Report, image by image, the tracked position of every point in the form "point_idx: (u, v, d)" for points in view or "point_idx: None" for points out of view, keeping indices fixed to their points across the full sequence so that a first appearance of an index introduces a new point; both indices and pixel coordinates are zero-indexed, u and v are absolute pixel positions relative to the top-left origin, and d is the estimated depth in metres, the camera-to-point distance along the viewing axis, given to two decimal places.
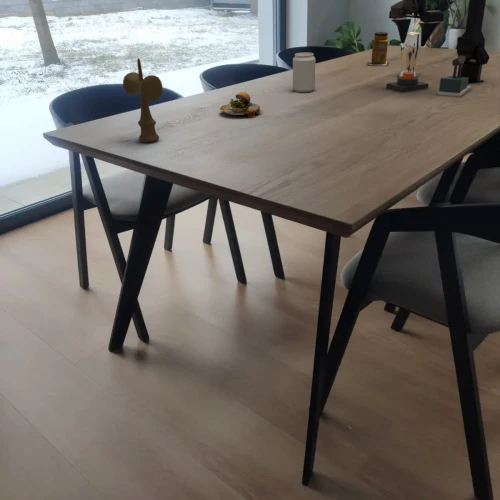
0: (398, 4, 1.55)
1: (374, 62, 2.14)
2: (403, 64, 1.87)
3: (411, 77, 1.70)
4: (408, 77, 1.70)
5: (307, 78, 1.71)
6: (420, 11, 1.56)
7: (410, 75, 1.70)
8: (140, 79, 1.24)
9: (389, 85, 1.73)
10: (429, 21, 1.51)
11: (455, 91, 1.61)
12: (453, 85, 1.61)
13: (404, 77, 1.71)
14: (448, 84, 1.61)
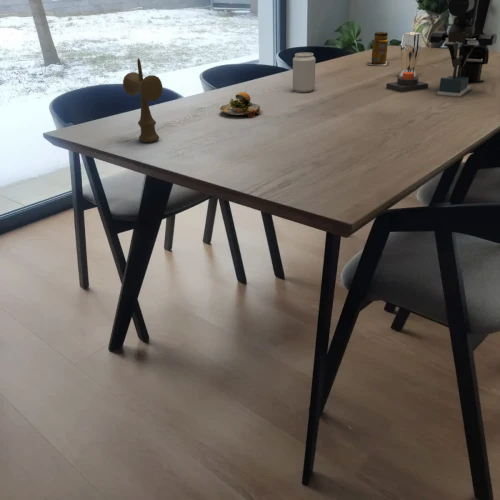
0: (456, 28, 1.53)
1: (374, 62, 2.14)
2: (403, 64, 1.87)
3: (411, 77, 1.70)
4: (408, 77, 1.70)
5: (307, 78, 1.71)
6: None
7: (410, 75, 1.70)
8: (140, 79, 1.24)
9: (389, 85, 1.73)
10: (491, 44, 1.53)
11: (455, 91, 1.61)
12: (453, 85, 1.61)
13: (404, 77, 1.71)
14: (448, 84, 1.61)
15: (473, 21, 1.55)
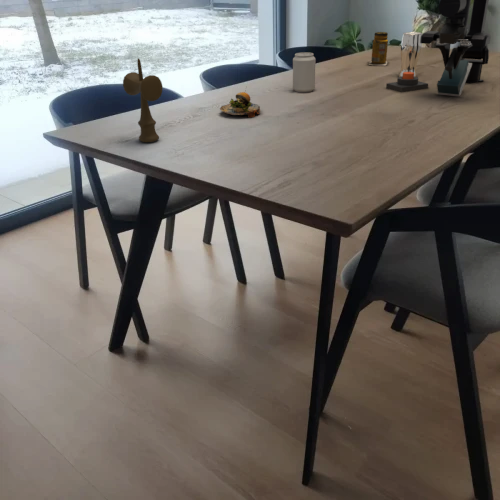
0: (447, 29, 1.47)
1: (374, 62, 2.14)
2: (403, 64, 1.87)
3: (411, 77, 1.70)
4: (408, 77, 1.70)
5: (307, 78, 1.71)
6: None
7: (410, 75, 1.70)
8: (140, 79, 1.24)
9: (389, 85, 1.73)
10: (484, 45, 1.46)
11: (454, 93, 1.60)
12: (451, 89, 1.59)
13: (404, 77, 1.71)
14: (445, 88, 1.60)
15: (465, 21, 1.48)
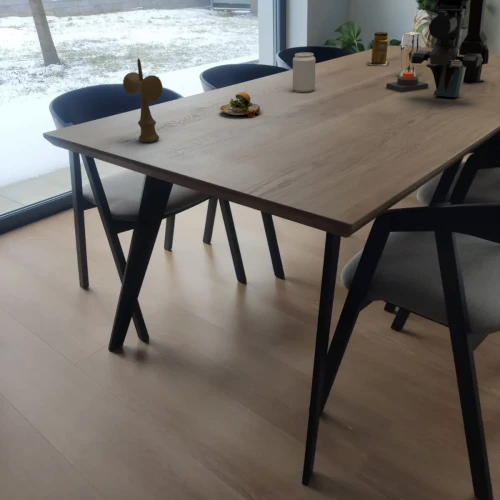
0: (438, 50, 1.44)
1: (374, 62, 2.14)
2: (403, 64, 1.87)
3: (411, 77, 1.70)
4: (408, 77, 1.70)
5: (307, 78, 1.71)
6: None
7: (410, 75, 1.70)
8: (140, 79, 1.24)
9: (389, 85, 1.73)
10: (475, 66, 1.44)
11: None
12: None
13: (404, 77, 1.71)
14: None
15: (456, 41, 1.46)
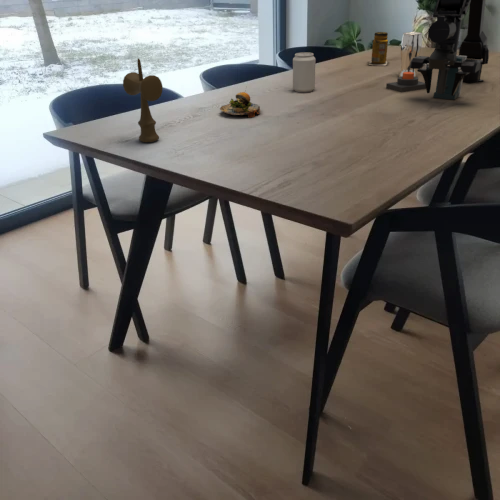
0: (437, 55, 1.45)
1: (374, 62, 2.14)
2: (403, 64, 1.87)
3: (411, 77, 1.70)
4: (408, 77, 1.70)
5: (307, 78, 1.71)
6: None
7: (410, 75, 1.70)
8: (140, 79, 1.24)
9: (389, 85, 1.73)
10: (474, 71, 1.45)
11: None
12: None
13: (404, 77, 1.71)
14: None
15: (455, 47, 1.46)
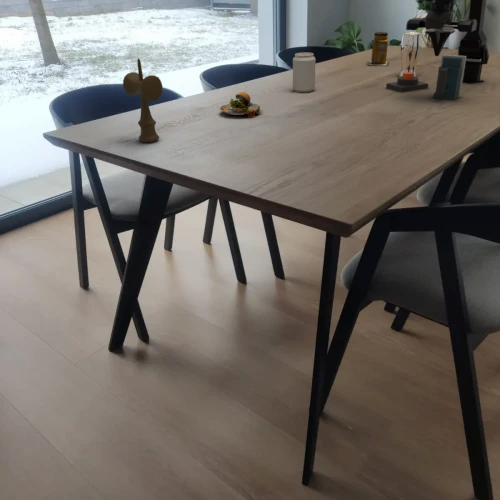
0: (433, 14, 1.44)
1: (374, 62, 2.14)
2: (403, 64, 1.87)
3: (411, 77, 1.70)
4: (408, 77, 1.70)
5: (307, 78, 1.71)
6: None
7: (410, 75, 1.70)
8: (140, 79, 1.24)
9: (389, 85, 1.73)
10: (471, 30, 1.44)
11: None
12: None
13: (404, 77, 1.71)
14: None
15: (451, 6, 1.46)
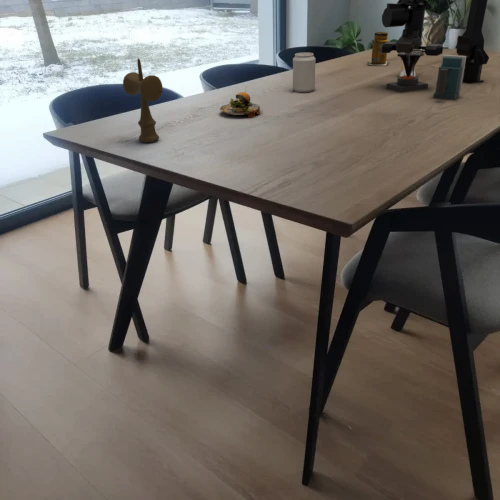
0: (403, 40, 1.62)
1: (374, 62, 2.14)
2: (403, 64, 1.87)
3: None
4: None
5: (307, 78, 1.71)
6: (419, 45, 1.65)
7: (410, 78, 1.71)
8: (140, 79, 1.24)
9: (389, 85, 1.73)
10: (436, 54, 1.62)
11: None
12: None
13: None
14: None
15: (420, 33, 1.63)
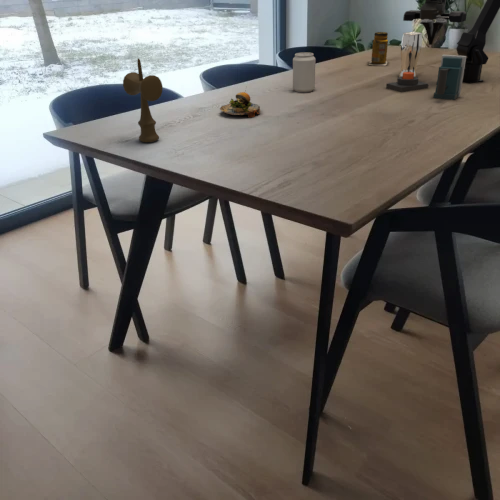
0: (427, 6, 1.61)
1: (374, 62, 2.14)
2: (403, 64, 1.87)
3: (411, 77, 1.70)
4: (408, 77, 1.70)
5: (307, 78, 1.71)
6: (442, 12, 1.65)
7: (410, 75, 1.70)
8: (140, 79, 1.24)
9: (389, 85, 1.73)
10: (460, 21, 1.61)
11: None
12: None
13: (404, 77, 1.71)
14: None
15: None
